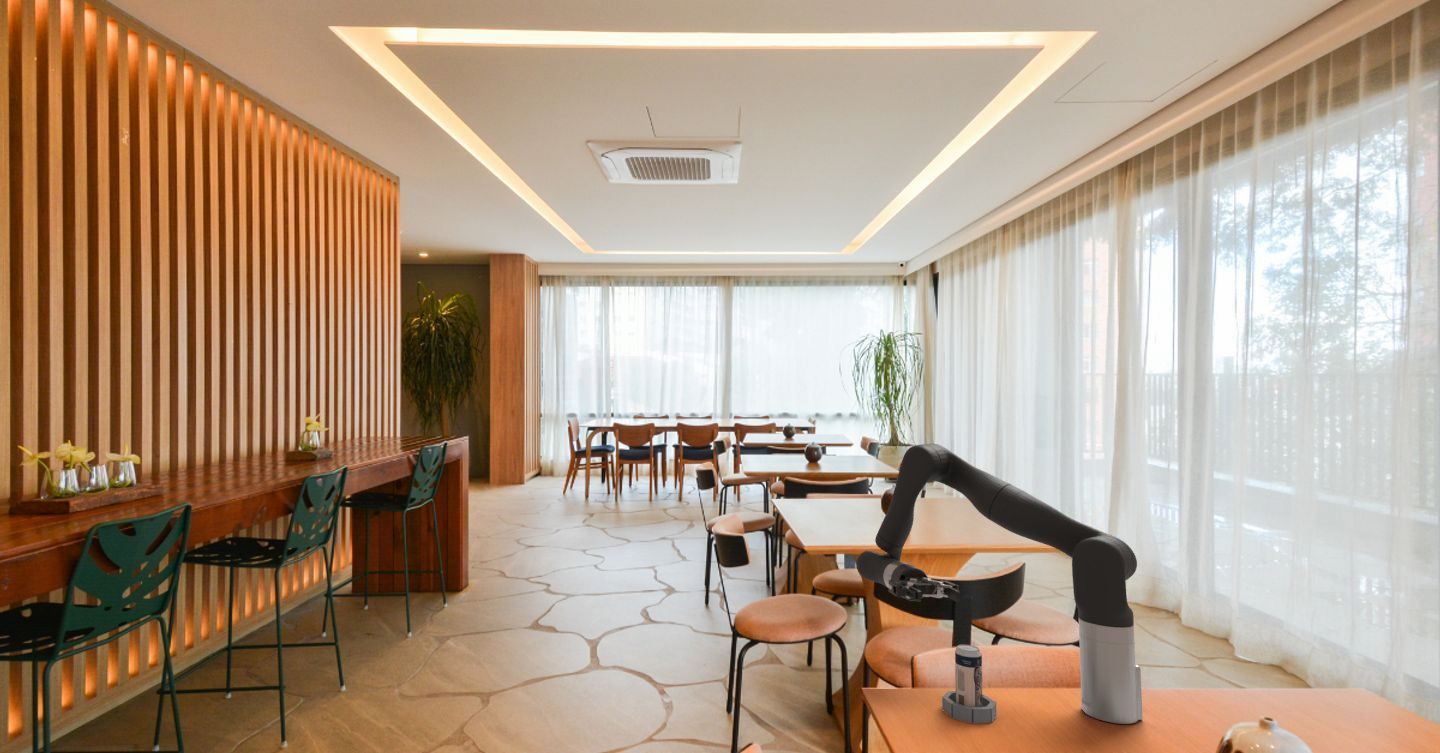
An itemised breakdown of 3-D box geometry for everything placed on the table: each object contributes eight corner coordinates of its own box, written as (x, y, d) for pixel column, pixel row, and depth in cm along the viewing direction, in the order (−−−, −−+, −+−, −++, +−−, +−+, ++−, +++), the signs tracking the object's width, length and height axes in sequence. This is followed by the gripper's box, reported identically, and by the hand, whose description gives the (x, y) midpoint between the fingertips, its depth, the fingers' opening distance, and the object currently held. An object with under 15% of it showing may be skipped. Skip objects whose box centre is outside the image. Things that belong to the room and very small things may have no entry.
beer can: (985, 720, 120) (983, 652, 121) (957, 717, 121) (957, 650, 122) (980, 709, 124) (979, 644, 126) (953, 707, 125) (953, 642, 127)
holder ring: (978, 703, 128) (978, 690, 128) (1005, 722, 119) (1004, 708, 119) (935, 704, 126) (935, 691, 127) (959, 724, 117) (959, 709, 118)
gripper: (876, 563, 151) (907, 578, 135) (933, 563, 153) (970, 578, 137) (876, 596, 150) (906, 615, 134) (933, 596, 152) (970, 614, 136)
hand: (939, 596), depth 136 cm, fingers open, 8 cm apart
